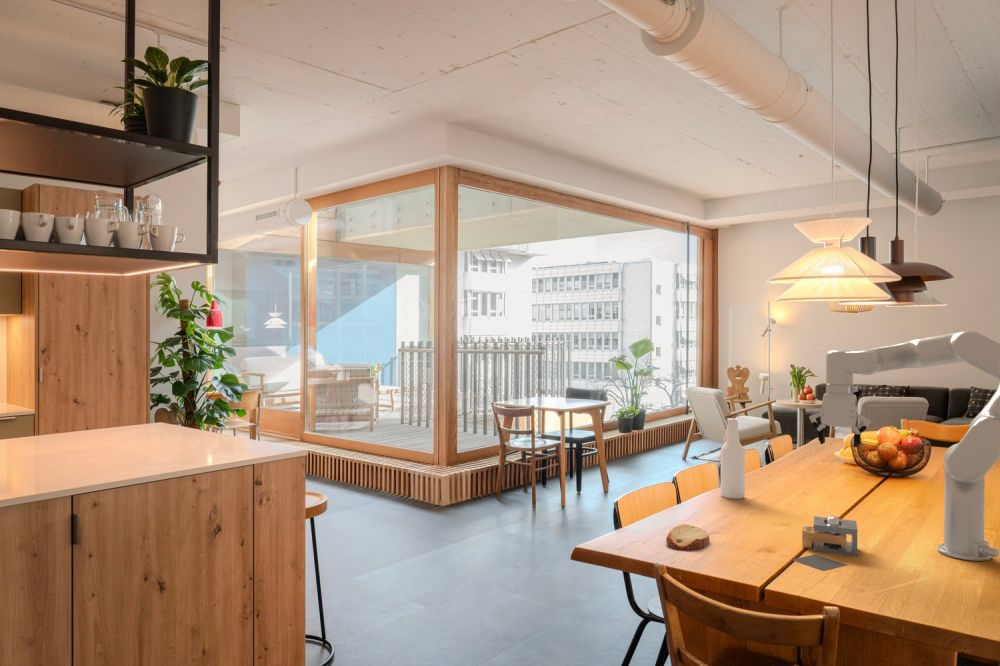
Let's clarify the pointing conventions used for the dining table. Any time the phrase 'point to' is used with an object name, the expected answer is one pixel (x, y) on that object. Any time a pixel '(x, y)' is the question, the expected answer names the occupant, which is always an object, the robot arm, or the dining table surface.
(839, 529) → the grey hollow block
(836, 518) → the pin
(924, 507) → the dining table surface
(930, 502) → the dining table surface
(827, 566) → the mat
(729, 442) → the alcohol
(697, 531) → the slice of bread
